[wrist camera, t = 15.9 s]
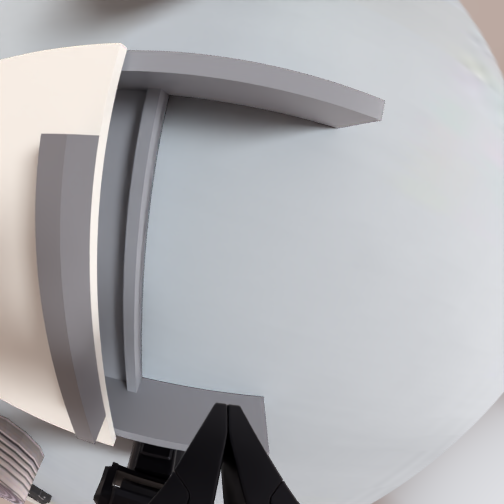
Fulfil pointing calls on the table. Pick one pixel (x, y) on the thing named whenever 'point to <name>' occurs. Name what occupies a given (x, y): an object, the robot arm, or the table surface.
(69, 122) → the lid
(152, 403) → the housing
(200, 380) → the table surface
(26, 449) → the can
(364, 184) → the table surface
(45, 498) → the disk drive
